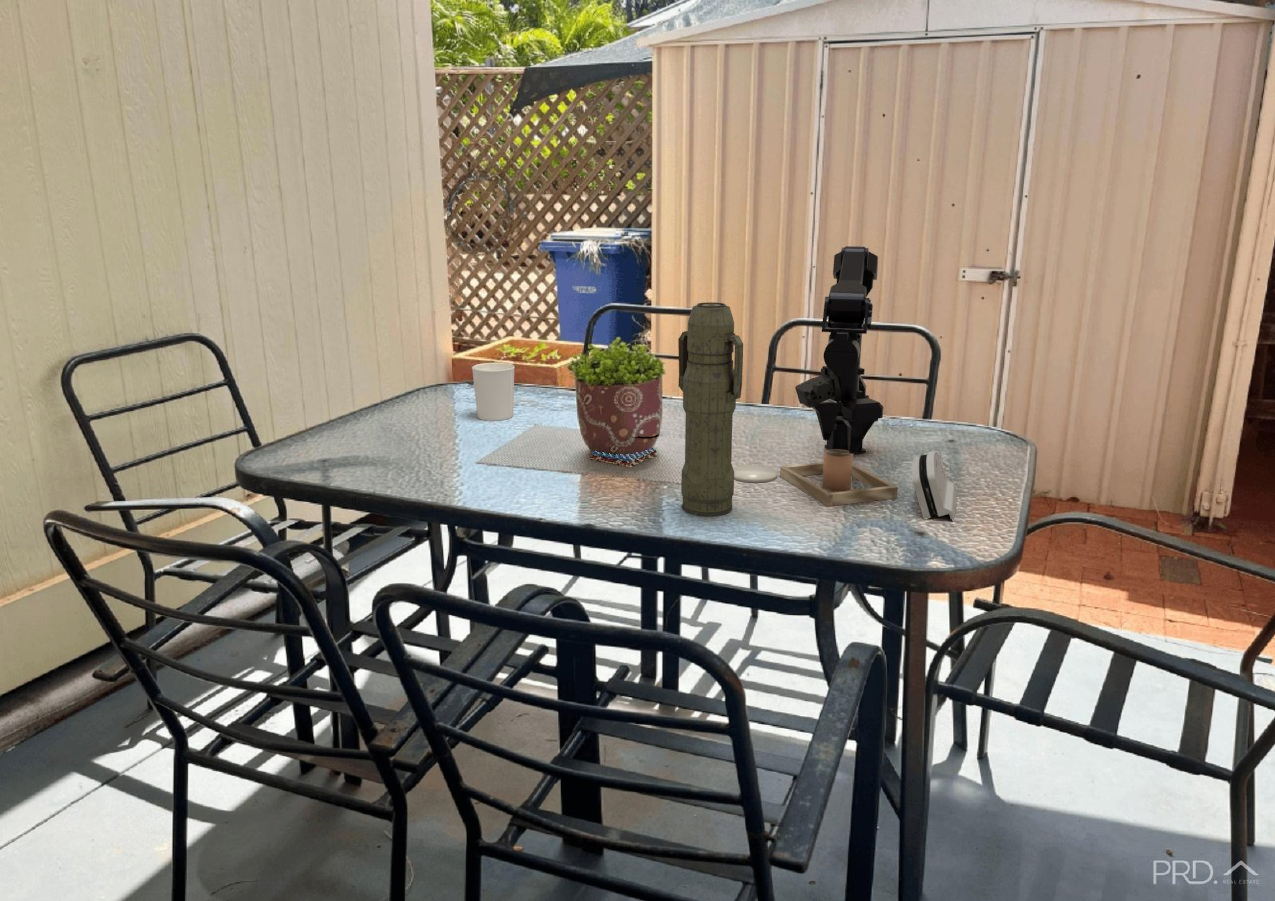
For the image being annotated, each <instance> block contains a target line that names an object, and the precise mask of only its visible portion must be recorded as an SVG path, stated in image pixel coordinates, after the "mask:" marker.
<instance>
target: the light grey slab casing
mask: <svg viewBox="0 0 1275 901" xmlns="http://www.w3.org/2000/svg"><path fill="white" fill-rule="evenodd" d="M911 465H912V466H911V468H912V469H911V473H912V483H913V487H914V490H915V494H916V496H917V501H918V505H919V508H920V511H921V514H922V518H932V517H933V516H934V515H935V516H938V517H943V516H945V515H949V517H950V520H951V519H953V520H954V518H955V519H956V513H955V508H956V509H957V501H956V499H958V491H957V488H956V484H955V483H954V482H952V481H950V480H948V479H947V477H946V473H945V470H944V466H943V464H942V459H941V457H940V454H939V452H938V451H928V452H927V454H923V453H920V454H919V455H917V456H915V457H913V460H912V464H911Z"/></svg>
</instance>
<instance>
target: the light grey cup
mask: <svg viewBox="0 0 1275 901" xmlns="http://www.w3.org/2000/svg"><path fill="white" fill-rule="evenodd" d="M515 368H516V367H515V365H514V364H513V363H507V362H484V363H477V364H475V365H473V366H471V371H472V380H473V387H474V390H473V391H474V397H475V406H476V408H475V409H476V414H477V418H478V420H482V421H488V422H498V421H499V422H500V421H505V420H509V419H512V418H513V416H514V405H515V404H514V400H515V399H514V398H515V392H514V391H515Z"/></svg>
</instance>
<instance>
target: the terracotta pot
mask: <svg viewBox="0 0 1275 901" xmlns="http://www.w3.org/2000/svg"><path fill="white" fill-rule="evenodd" d="M853 461H854V454H850V453H849V451H847V450H841V449H831V450H829V449H827V450H826V449H825V451H824V452H823V460H822V462H823V474H822V483H821V488H823V489H824V490H826V491H828V492H829V491H830V492H842V491H851V490H852V463H853ZM853 464H854V463H853Z"/></svg>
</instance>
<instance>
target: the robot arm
mask: <svg viewBox="0 0 1275 901" xmlns="http://www.w3.org/2000/svg"><path fill="white" fill-rule="evenodd" d="M869 250H870V249H869V247H865V246H851V245H850V246H847V245H845V246H844V247H841V251H839V252H838V253H836V254H834V256H833V267H832V275H833V279H835V280H836V283H835V284H833V285H832V286H831V287H830V289H829V293H828V296H825V297H824V305H823V314H822V323H821V332H822V333H829V334H828V342H827V344H826V346H825V349H824V351H823V362H824V364H825V365H822V367H821V368H820V375H818V376H816V377H812V378H810V379H808V380H806V381H803V382H801V383H799V384H798V385H796V386H795V387H794V388H795V392H796V395H797V399H798V401H799V404H801V405H804V406H806V407H807V408H812V409H813V411H815V415H816V417H817V421H818V424H819V429H820V432H821V436H822V440H823V441H826V444H824V446H823V447H824V448H825V449H827V450H831V449H841V450H847V451H849V453H850V454H853V455H854V454H863V453H867V449H865V448H863V444H864V439H865V437H866V435H867V434H868V433H869V431H870V429H871V428H872V427H873V425H874V424H875V423H877V422H878V421H879V419H883V418H884V406H883V405H882V404H881V403H880V402H879V401H877V400H875V399H872V398H870V395H868V394H866V393H867V385H866V383H865V381H864V379H863V377H862V375H863V376H864V375H865V368H863V367H861V355H862V354H861V353H862V340H863V338H862V337H863V334H865V335H867V333H868V329H871V328H872V321H873V320H872V319H873V317H872V316H873V310H874V309H873V308H874V306H873V303H872V302H871V301H872V300H871V298H870V297H868V295H869V294H870V293H871V291H872V290H873V287H874V281H877V280H878V272H879V271H878V270H879V267H878V266H879V257H878V256H879V255H876V254H874V252H873V253H872V252H871V251H869Z"/></svg>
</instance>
